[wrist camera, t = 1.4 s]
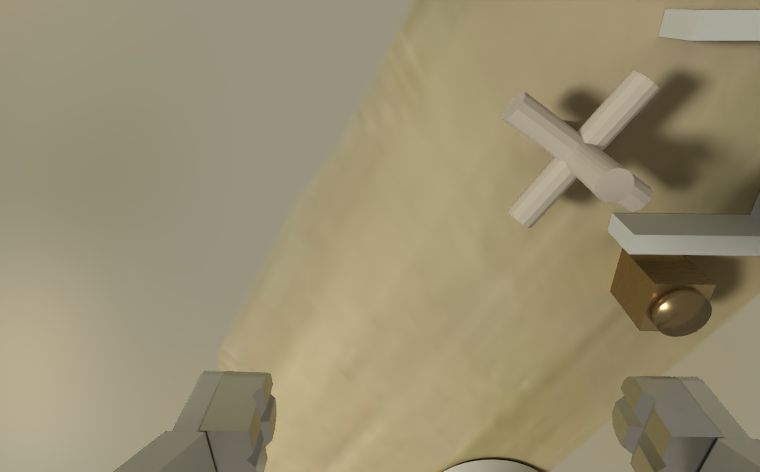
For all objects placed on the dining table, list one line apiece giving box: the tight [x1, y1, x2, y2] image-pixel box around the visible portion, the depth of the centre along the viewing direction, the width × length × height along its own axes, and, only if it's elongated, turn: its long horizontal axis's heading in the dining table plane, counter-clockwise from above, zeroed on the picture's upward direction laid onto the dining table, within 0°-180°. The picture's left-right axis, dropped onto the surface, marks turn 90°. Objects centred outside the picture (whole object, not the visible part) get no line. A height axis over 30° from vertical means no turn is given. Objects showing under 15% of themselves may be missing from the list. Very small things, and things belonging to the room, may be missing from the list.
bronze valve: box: [610, 248, 716, 337], centre depth 33 cm, size 4×4×6 cm
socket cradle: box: [608, 9, 760, 256], centre depth 27 cm, size 15×12×6 cm
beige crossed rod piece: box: [502, 70, 660, 228], centre depth 26 cm, size 10×10×10 cm
